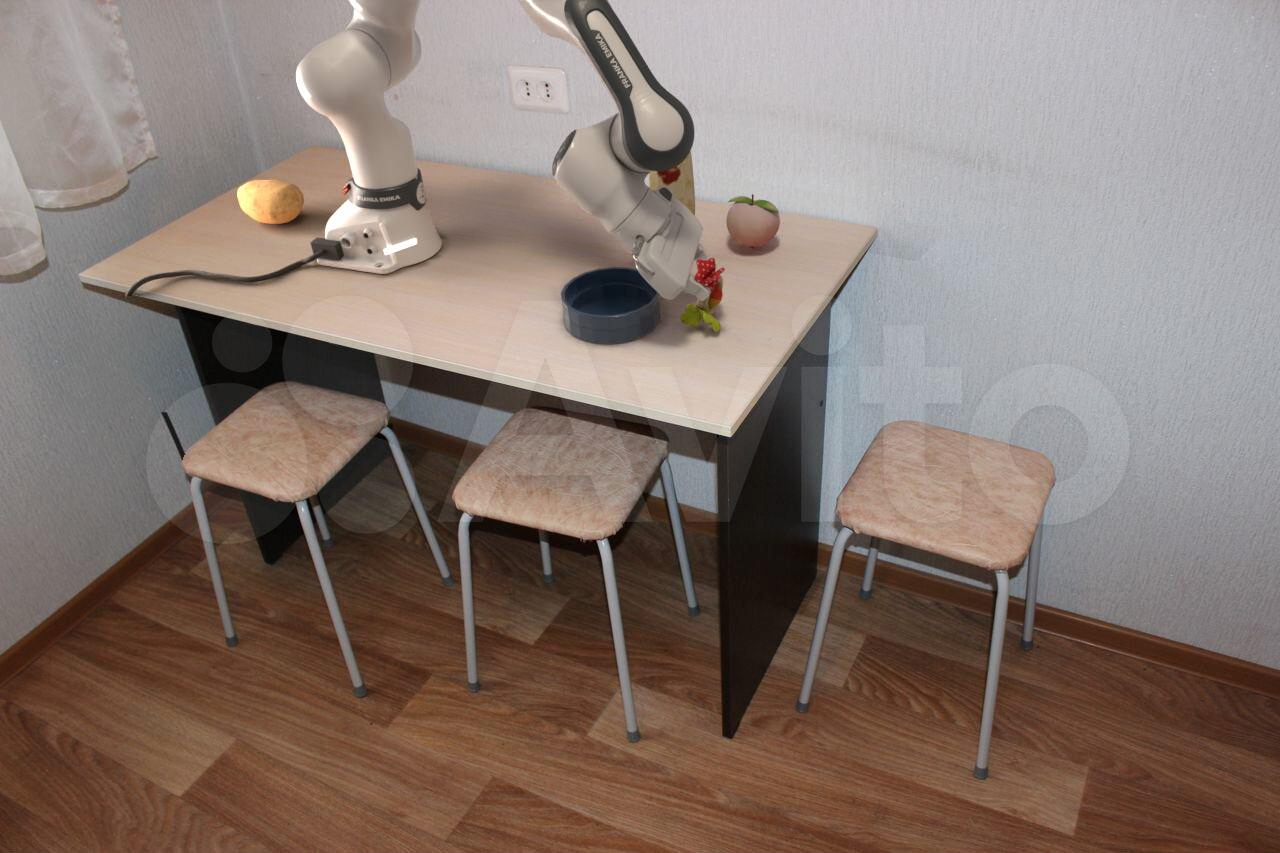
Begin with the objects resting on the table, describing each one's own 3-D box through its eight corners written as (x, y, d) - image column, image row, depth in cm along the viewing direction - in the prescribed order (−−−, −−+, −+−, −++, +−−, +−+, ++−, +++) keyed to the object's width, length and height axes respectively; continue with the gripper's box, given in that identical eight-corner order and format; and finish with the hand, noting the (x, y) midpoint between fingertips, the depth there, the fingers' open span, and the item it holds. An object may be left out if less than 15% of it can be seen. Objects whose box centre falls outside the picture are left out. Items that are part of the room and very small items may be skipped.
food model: (676, 274, 175) (670, 161, 163) (643, 265, 178) (635, 154, 166) (705, 249, 181) (702, 139, 169) (673, 242, 184) (668, 132, 172)
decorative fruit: (719, 256, 179) (718, 203, 173) (733, 235, 185) (732, 182, 179) (772, 263, 176) (773, 208, 170) (784, 241, 182) (785, 187, 176)
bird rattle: (691, 322, 166) (673, 329, 157) (699, 252, 163) (681, 256, 154) (729, 328, 164) (713, 336, 155) (738, 257, 161) (722, 261, 152)
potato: (265, 206, 208) (253, 168, 204) (321, 215, 203) (310, 176, 198) (231, 227, 201) (218, 188, 197) (288, 237, 196) (276, 197, 191)
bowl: (553, 342, 160) (550, 315, 157) (577, 292, 172) (574, 265, 169) (653, 347, 157) (651, 319, 154) (670, 295, 169) (668, 268, 166)
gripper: (644, 242, 144) (715, 306, 148) (668, 180, 160) (732, 239, 164) (615, 269, 147) (686, 331, 151) (641, 206, 163) (705, 264, 167)
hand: (710, 283), depth 158 cm, fingers closed on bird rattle, 6 cm apart
